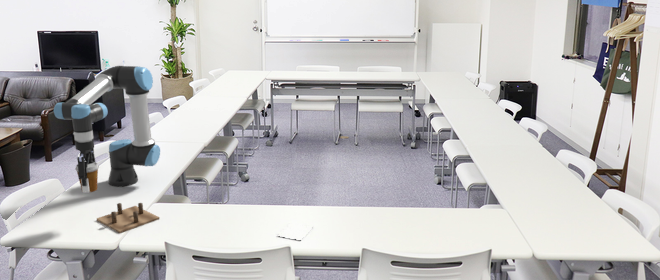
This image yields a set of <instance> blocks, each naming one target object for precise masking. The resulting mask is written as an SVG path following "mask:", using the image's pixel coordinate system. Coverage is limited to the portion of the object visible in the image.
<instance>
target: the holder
mask: <svg viewBox="0 0 660 280" xmlns="http://www.w3.org/2000/svg"><path fill="white" fill-rule="evenodd" d="M137 205H138V206H137ZM137 205H133V206H130V207H128V208H124V209H123V205H122V203H121V202H118V203H116V206H117V207H116V209H117V211H115V210H114V211H111V213H109V214H106V215H103V216H99V217H96V221H97V222H99V223H101V224H103V225H104V226H106V227H108V228H110V229H111V230H113V231H114V232H116V233H119V234H122V233H125V232H128V231H130V230H133V229H136V228H139V227H142V226H145V225H147V224H150V223H153V222H155V221H159V220H160V217H159V216H157V215H156V214H154V213H151V212H149V211H147V210H145V209H144V205H143V202H138V203H137Z"/></svg>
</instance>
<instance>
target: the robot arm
mask: <svg viewBox="0 0 660 280" xmlns="http://www.w3.org/2000/svg"><path fill="white" fill-rule="evenodd" d="M153 84H154V80H153V74H152V73H151V71H150V70H149V69H148V68H147V67H144V66H134V65H133V66H130V65H114V66H112V67H109V68H106V69H105V70H103V71H101V72H100V73H99V74H97V75H96V76H95V78H94V80H93V81H92V82H90V83H89V84H88V85H86V86H84V87H83V89H81V90H80V91H79V92H78V93H77V94H75V95H74V96H73V97H71V98H70V99H68V100H67V101H65V102H57V103H56V104H55V105H54V107H53V114H54V116H55V118H57V119H59V120H65V121H66V120H68V121H69V120H70V121H71V120H72V127H73V129H72V130H73V132H72V135H73V137H74V146H75V150H76V151H79V156H77V157H76V159H77V164H78V174H77V176H78V175H79V177H78V180H79V179H81V183H82V189H81V192H82V191H83V192H82V193H86V192H88V193H91V192H90V191H89V182H88V178H87V169H86V168H87V166H88V163H93V162H96V158H95V149H94V148H95V142H94V141H95V140H94V131H93V124H94V123H97V122H98V121H101V120H102V121H103V119H104V118H107V115H108V107H107V106H106V105H105V104H104V103H102V102H96V101H97V100H98V99H99V98H101V96H103V95H104V94H105V93H106V92H107V93H109V92H111V91H112V90H113V89H114V90H115V89H122V90H123V89H124V90H125V95H127V96H128V97H129V98H128V99H129V105H130V113H131V114H130V115H131V116H130V117H131V122H132V124H131V125H132V130H133V131H132V132H133V140H132V139H129V138H128V139H127V138H125V139H117V140H116V141H112V142H110V143H109V145H108V153H109V154H108V155H109V163H110V171H109V175H108V184H109V185H110V186H112V187H113V186H114V187H126V186H131V185H134V184H136V183H137V182H138V181H139V176H138V173H137V171H136V169H135V167H134V166H139V167H141V166H142V167H153V166H156V165H157V163H158V162H159V160H160V158H161V157H160V156H161V147H160V146H159V145H158V144H156V142H155V139H154V138H153V137H152V131H151V124H150V123H151V122H150V121H151V120H150V115H149V114H150V113H149V104H148V97H147V96H148V94H150V90H151V89H152V88H153ZM94 102H95V103H94Z"/></svg>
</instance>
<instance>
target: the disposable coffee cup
mask: <svg viewBox="0 0 660 280" xmlns="http://www.w3.org/2000/svg"><path fill="white" fill-rule="evenodd" d="M86 169H87V178H88V182H89V191H90V192H85V193H94V192H95V191H97V190H98V178H99V177H98V172H99V165H98V162H97V161H95V162H93V163H88V166H87V168H86ZM75 170H76V173H77V177H78V181H79V186H80V188H81V192H82V193H84V192H83V191H82V183H81V179H79V175H78V163H77V164H76V166H75Z"/></svg>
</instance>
